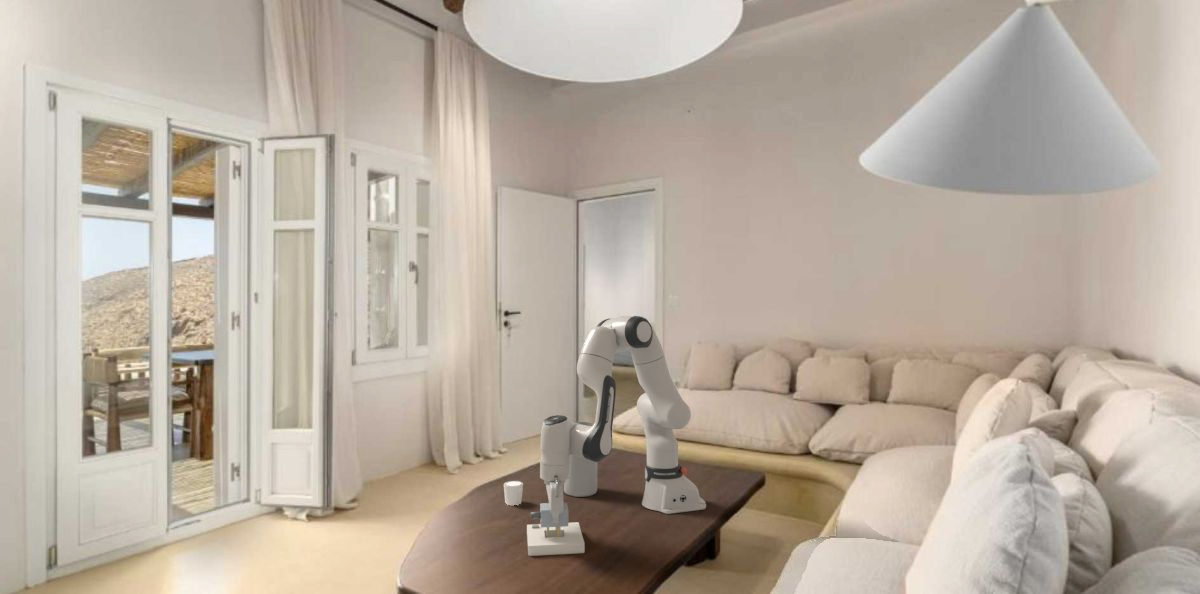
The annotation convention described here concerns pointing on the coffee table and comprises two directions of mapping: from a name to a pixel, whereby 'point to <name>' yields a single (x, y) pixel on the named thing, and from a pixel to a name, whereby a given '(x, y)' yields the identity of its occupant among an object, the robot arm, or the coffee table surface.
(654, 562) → the coffee table surface
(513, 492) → the shot glass
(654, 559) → the coffee table surface
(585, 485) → the cylinder vase
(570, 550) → the socket plate
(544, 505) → the plug
